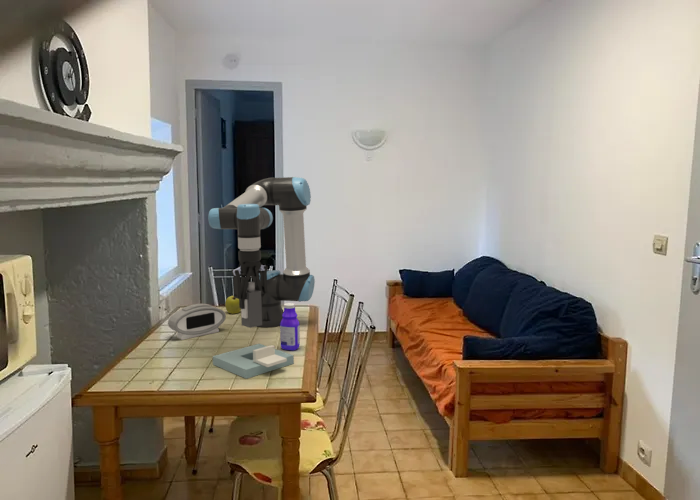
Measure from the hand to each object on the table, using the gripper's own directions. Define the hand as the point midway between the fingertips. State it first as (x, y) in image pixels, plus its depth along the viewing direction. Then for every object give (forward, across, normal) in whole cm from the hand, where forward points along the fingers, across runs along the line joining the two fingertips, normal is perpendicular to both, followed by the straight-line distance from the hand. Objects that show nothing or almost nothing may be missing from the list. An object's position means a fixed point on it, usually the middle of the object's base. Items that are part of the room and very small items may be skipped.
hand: (251, 316), depth 192 cm
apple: (+17, -37, -67) cm, 79 cm away
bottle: (+17, -20, -4) cm, 27 cm away
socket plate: (+17, 0, 0) cm, 17 cm away
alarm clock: (+17, -6, -47) cm, 51 cm away
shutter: (+14, 0, +10) cm, 17 cm away
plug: (+3, 0, 0) cm, 3 cm away
